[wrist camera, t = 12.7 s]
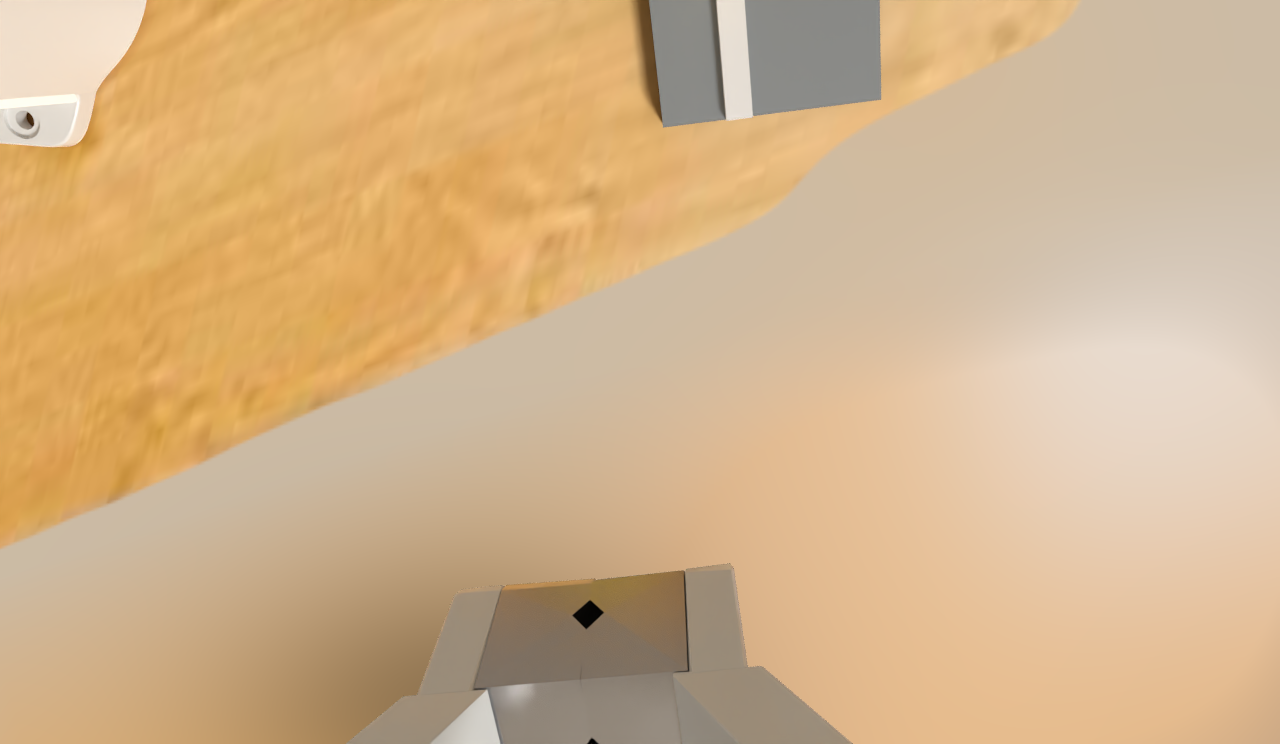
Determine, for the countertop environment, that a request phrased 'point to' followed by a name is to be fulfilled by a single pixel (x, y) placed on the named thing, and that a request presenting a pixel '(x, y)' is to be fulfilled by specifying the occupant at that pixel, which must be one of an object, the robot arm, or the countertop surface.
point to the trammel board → (763, 56)
